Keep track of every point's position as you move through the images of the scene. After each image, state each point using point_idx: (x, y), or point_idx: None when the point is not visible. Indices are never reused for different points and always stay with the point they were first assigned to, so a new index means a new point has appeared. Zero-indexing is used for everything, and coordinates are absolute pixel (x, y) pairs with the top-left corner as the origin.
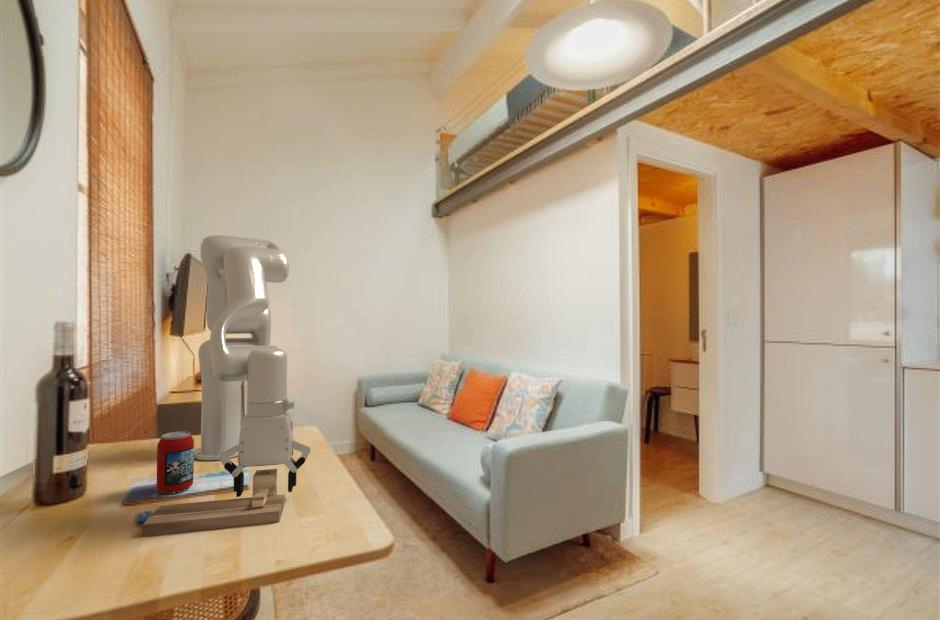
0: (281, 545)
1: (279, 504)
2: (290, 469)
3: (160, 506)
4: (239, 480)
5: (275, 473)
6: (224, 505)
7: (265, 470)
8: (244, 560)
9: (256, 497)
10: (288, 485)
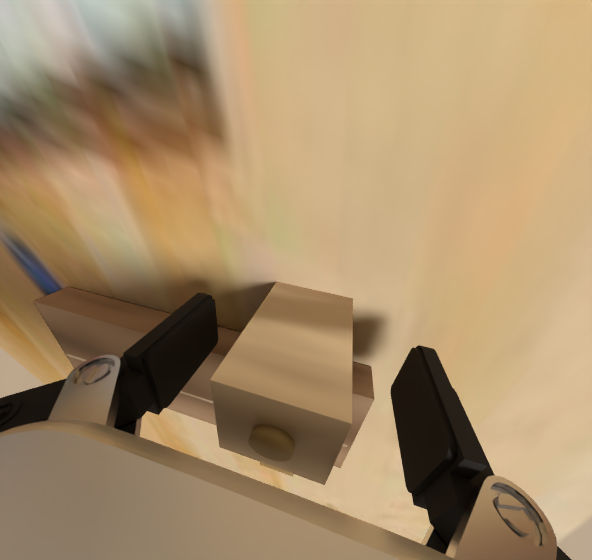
0: (337, 487)
1: (344, 445)
2: (431, 538)
3: (37, 307)
4: (171, 398)
5: (333, 459)
6: (195, 378)
7: (268, 438)
8: (285, 483)
9: (272, 467)
10: (397, 418)
